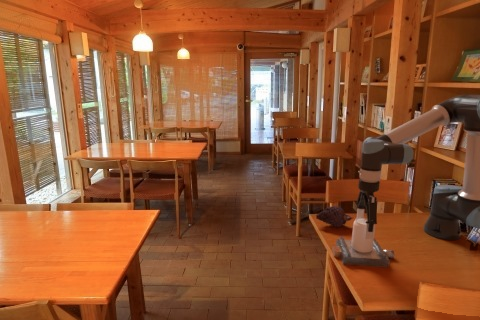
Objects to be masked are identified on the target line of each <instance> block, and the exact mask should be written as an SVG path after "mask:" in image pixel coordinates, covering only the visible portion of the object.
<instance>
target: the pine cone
mask: <svg viewBox="0 0 480 320" xmlns="http://www.w3.org/2000/svg"><path fill="white" fill-rule="evenodd" d="M315 219H316V220H319V221H320V222H323V223H325V224H329V225H331V226H332V227H335V228H340V227H343V226H345V225H346V224H347V222H348V221H351V220H352V219H354V217H353V216H350V215H348V214H346V213H345V211H344V209H343V207H340V206H337V205H333V206H328V207H326V208H324V210H321V212H318V213H317V214H316V215H315Z"/></svg>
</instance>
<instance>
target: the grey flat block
mask: <svg viewBox="0 0 480 320" xmlns="http://www.w3.org/2000/svg"><path fill="white" fill-rule="evenodd" d="M351 242H352V239H344V236H342V235H340V236H339V239H338V238H336V239H335V245H332V247H331V248H332V249H331V251H332V255H333V257H334V258H340V260H341V263H342V265H352V266H364V267H378V268H380V267H382V268H389V265H390V259H394V258H395V251H394V250H393V249H383V247H381V245H380V244H379V241H377V239H376V238H375V237H374V240H373V248H372V251H370V252H366V253H363V252H358V251H356V250H354V249H353V248H352V247H351Z"/></svg>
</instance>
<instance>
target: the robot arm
mask: <svg viewBox="0 0 480 320" xmlns="http://www.w3.org/2000/svg"><path fill="white" fill-rule="evenodd" d="M454 123H462V124H463V131H464V132H465V133H466V135H467V137H466V147H465V156H464V157H465V158H464V169H463V170H464V171H463V181H462V186H458V185H453V184H452V185H451V184H440V185H436V186H435V187H434V189H433V194H432V198H431V199H432V200H431V206H430V213H429V216H428V217H427V219H426V221H425V223H424V224H423V231H424V233H426V234H428V235H429V236H432V237H434V238H437V239H440V240H441V239H442V240H445V241H446V240H448V241H449V240H450V241H456V240H459V239H461V236H462V229H461V225H460V222H461V223H464V224H466V225H468V226H470V227H473V228H475V229H480V94H469V93H468V94H460V95H456V96H453V97H450V98H448V99H445V100H443V101H441V102H439V103H437V104H435V105H433V106H432V107H431V109H430V110H429V111H426V112H424V113H422V114H420V115H418V116H417V117H414V118H413V119H411V120H409V121H407V122H404V123H402V124H400V125H399V126H397V127H395V128H393V129H391V130H389V131H387V132H385V133H383V134H381V135H378V136H377V137H376V136H369V137H366V139H364V140H363V142H362V148H361V153H360V154H361V157H360V169H359V170H358V174H359V177H358V178H359V179H358V184H357V188H358V189H359V193H358V195H357V200H356V206H357V208H356V209H357V210H356V218H365V212H366V218H367V221H366V231H365V239H373V231H374V224H375V225H377V224H378V219H377V217H378V216H377V212H378V211H377V197H376V196H375V195H374V193H376V192H379V190H380V183H381V181H380V180H381V177H382V167H383V165H403V164H409V163H411V161H412V160H413V159H414V149H413V147H412V146H411V145H410V144H406V143H408V142H410V141H413V140H414V139H416V138H418V137H420V136H422V135H424V134H427V133H428V132H430V131H433V130H434V129H436V128H438V127H440V126H443V127H446V126H447V125H450V124H454Z"/></svg>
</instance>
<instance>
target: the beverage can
mask: <svg viewBox="0 0 480 320" xmlns="http://www.w3.org/2000/svg"><path fill="white" fill-rule="evenodd" d="M366 221H367V217H364V218H357V217H356V218H355V220H354V221H353V224H352V234H351V240H352V242H351V247H352V248H353V249H354V250H356V251H358V252H363V253H366V252H370V251H372V248H373V240H374V238H375V232H376V231H375V230H376V224H374V231H373V239H365V231H366Z"/></svg>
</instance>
